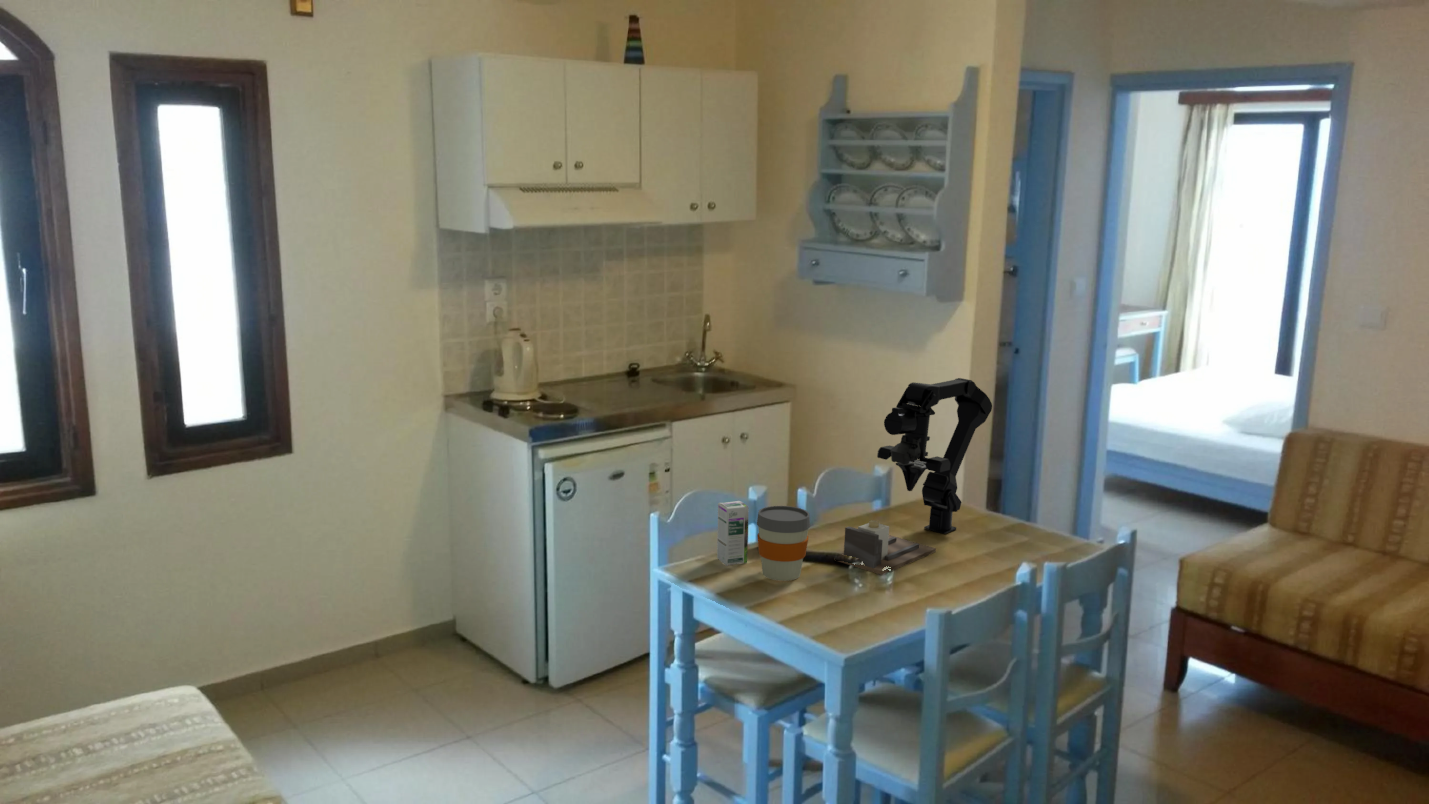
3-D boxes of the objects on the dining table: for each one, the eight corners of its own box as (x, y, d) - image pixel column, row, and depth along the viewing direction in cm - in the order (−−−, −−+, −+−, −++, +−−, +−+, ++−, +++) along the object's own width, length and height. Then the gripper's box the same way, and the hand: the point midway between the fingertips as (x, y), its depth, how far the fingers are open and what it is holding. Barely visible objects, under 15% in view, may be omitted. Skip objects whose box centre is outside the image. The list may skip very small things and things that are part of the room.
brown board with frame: (889, 538, 286) (891, 505, 284) (935, 551, 276) (938, 518, 275) (834, 560, 268) (836, 525, 267) (881, 575, 259) (884, 538, 257)
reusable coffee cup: (747, 578, 254) (750, 517, 251) (764, 561, 266) (766, 502, 263) (799, 586, 250) (802, 524, 247) (813, 569, 262) (816, 509, 259)
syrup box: (726, 566, 262) (727, 508, 259) (716, 558, 267) (717, 501, 265) (747, 563, 264) (749, 506, 261) (737, 555, 270) (739, 499, 267)
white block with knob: (870, 552, 272) (872, 516, 270) (887, 557, 268) (889, 521, 266) (856, 557, 267) (858, 522, 265) (873, 563, 264) (875, 526, 262)
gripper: (868, 428, 280) (862, 486, 283) (932, 442, 268) (925, 503, 271) (891, 424, 288) (885, 481, 291) (954, 438, 277) (947, 497, 279)
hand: (909, 490), depth 283 cm, fingers closed
